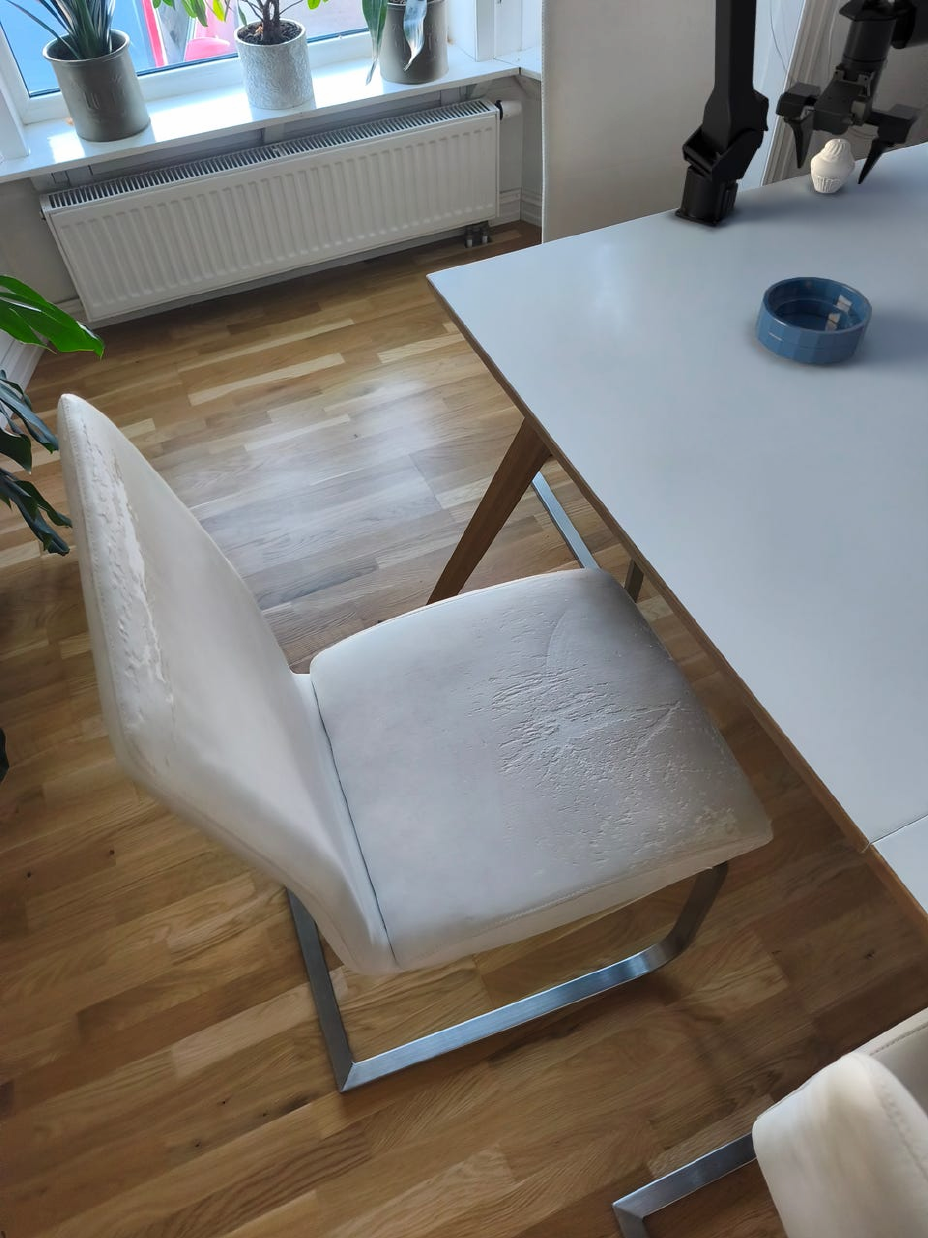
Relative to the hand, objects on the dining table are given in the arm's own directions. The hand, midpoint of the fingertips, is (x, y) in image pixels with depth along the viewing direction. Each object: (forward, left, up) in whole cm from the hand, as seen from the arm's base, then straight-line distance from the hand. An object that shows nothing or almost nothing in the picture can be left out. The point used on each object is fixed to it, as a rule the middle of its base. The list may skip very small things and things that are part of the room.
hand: (829, 175), depth 125 cm
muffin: (0, 0, -2) cm, 2 cm away
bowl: (+14, -38, -2) cm, 41 cm away
